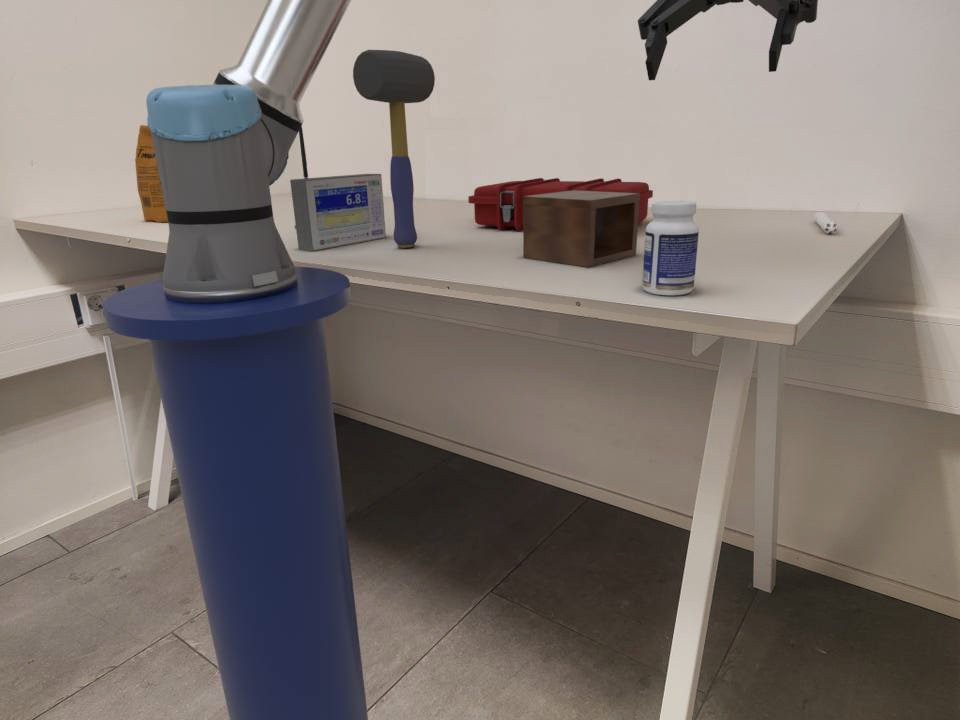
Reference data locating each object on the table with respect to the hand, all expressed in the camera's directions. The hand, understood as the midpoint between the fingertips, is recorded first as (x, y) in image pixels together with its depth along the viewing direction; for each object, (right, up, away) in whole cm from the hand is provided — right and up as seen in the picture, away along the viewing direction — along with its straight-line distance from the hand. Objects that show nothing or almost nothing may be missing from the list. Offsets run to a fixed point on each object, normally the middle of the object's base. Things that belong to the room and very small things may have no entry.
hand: (708, 66), depth 72 cm
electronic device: (-52, -13, +40) cm, 67 cm away
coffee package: (-102, 0, +80) cm, 130 cm away
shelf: (-12, -18, +21) cm, 30 cm away
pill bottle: (-5, -26, -1) cm, 27 cm away
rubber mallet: (-39, -15, +33) cm, 53 cm away
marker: (+37, -10, +42) cm, 57 cm away
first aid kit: (-10, -7, +54) cm, 56 cm away
